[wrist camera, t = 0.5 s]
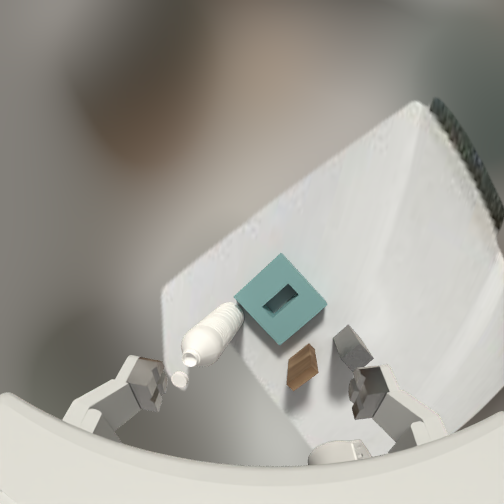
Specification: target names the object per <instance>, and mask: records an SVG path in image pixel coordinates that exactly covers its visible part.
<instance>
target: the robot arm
mask: <svg viewBox="0 0 504 504" xmlns="http://www.w3.org/2000/svg"><path fill="white" fill-rule="evenodd" d="M163 369H164V364H163V361H159V360H153V359H148V358H143V357H137V356H133V355H130V356H128V357H127V359H126V361H125V363H124V364H123V366H122V368H121V370H120V372H119V374H118V375H117V377H116V379H115V380H113V379H112V380H110V381H108V382H106V383H105V384H103V385H101V386H99V387H98V388H96V389H94V390H92V391H90V392H89V393H87V394H85V395H83V396H81V397H80V398H78V399H76V400H74V401H73V403H72V405H71V406H70V408H69V409H68V411H67V413H66V415H65V417H64V418H63V420H60V419H58V418H56V417H54V416H52V415H50V414H48V413H46V412H44V411H42V410H40V409H38V408H37V407H35V406H33V405H31V404H30V403H28V402H26V401H24V400H23V399H21V398H19V397H18V396H16V395H14V394H12V393H9V392H7V393H3V394H1V395H0V504H504V411H500V412H498V413H496V414H495V415H492V416H491V417H488V418H487V419H484V420H482V421H480V422H478V423H476V424H474V425H472V426H470V427H467V428H465V429H463V430H460V431H458V432H455V433H453V434H450V435H448V434H447V431H446V429H445V427H444V424H443V422H442V420H441V418H440V415H439V414H437V413H436V412H434V411H433V410H432V409H430V408H429V407H427V406H426V405H424V404H423V403H421V402H420V401H419V400H417V399H416V398H414V397H413V396H411V395H410V394H408V393H407V392H406V391H404V390H400V387H399V385H398V383H397V381H396V378H395V376H394V374H393V372H392V370H391V367H390V366H389V365H388V364H387V365H378V366H368V367H358V368H356V369H355V371H354V373H353V374H354V378H353V379H352V380H351V381H350V384H349V391H348V392H349V398H350V401H351V402H353V403H354V405H353V407H352V411H353V415H354V419H355V420H357V419H366V418H372V419H373V420H374V421H375V422H376V423H377V424H378V425H379V426H380V427H381V428H382V429H383V430H384V431H385V432H386V433H387V434H388V435H389V436H390V437H391V438H392V439H393V440H394V441H395V442H396V444H395V445H394V446H393V447H392V448H391V449H390V451H389V452H388V454H384V455H380V456H375V457H372V456H371V455H370V453H369V451H368V450H367V448H366V447H365V445H364V444H363V442H362V441H361V440H354V441H333V442H328V443H325V444H323V445H320V446H319V447H317V448H315V449H314V450H313V451H312V452H311V453H310V455H309V457H308V465H306V466H281V467H280V466H279V467H278V466H275V467H274V466H244V465H230V464H220V463H210V462H203V461H196V460H190V459H184V458H179V457H174V456H169V455H164V454H159V453H155V452H151V451H147V450H143V449H139V448H136V447H132V446H128V445H126V444H122V443H121V441H120V439H119V438H118V436H117V435H116V434H115V432H114V431H115V430H117V429H118V428H119V427H120V426H122V425H123V424H124V423H125V422H126V421H128V420H129V419H130V418H131V417H133V416H134V415H135V414H136V413H137V412H139V411H140V410H141V409H144V410H150V411H154V412H159V409H160V406H161V403H162V398H161V396H162V395H163V394H165V392H166V389H167V383H168V381H167V375H166V373H165V372H164V371H163Z"/></svg>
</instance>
